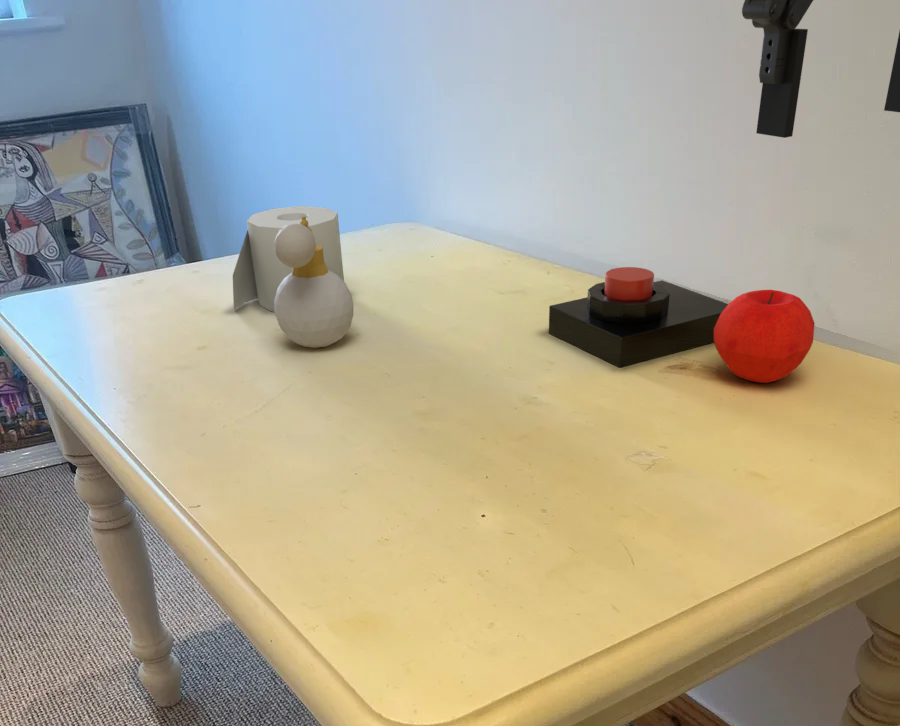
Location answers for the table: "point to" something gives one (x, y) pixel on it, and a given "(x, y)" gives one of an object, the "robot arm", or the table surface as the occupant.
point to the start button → (629, 283)
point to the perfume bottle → (309, 291)
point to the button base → (636, 323)
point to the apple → (764, 334)
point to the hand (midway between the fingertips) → (840, 123)
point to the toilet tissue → (258, 259)
